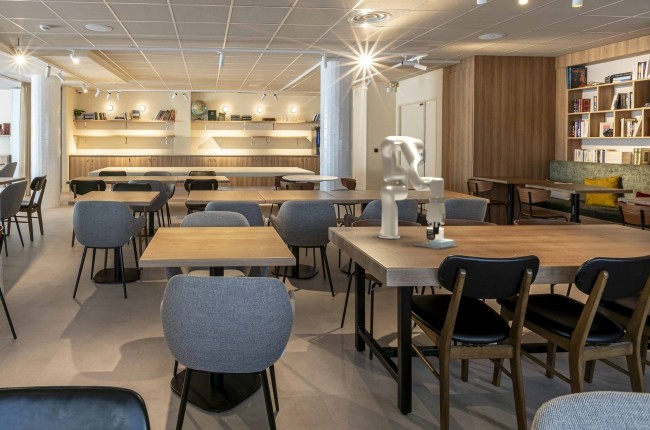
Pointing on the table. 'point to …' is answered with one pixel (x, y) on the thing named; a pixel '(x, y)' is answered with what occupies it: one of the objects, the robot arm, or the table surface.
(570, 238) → the table surface
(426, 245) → the mat
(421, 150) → the robot arm
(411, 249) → the table surface
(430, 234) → the medicine bottle
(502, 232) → the table surface
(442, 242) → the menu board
